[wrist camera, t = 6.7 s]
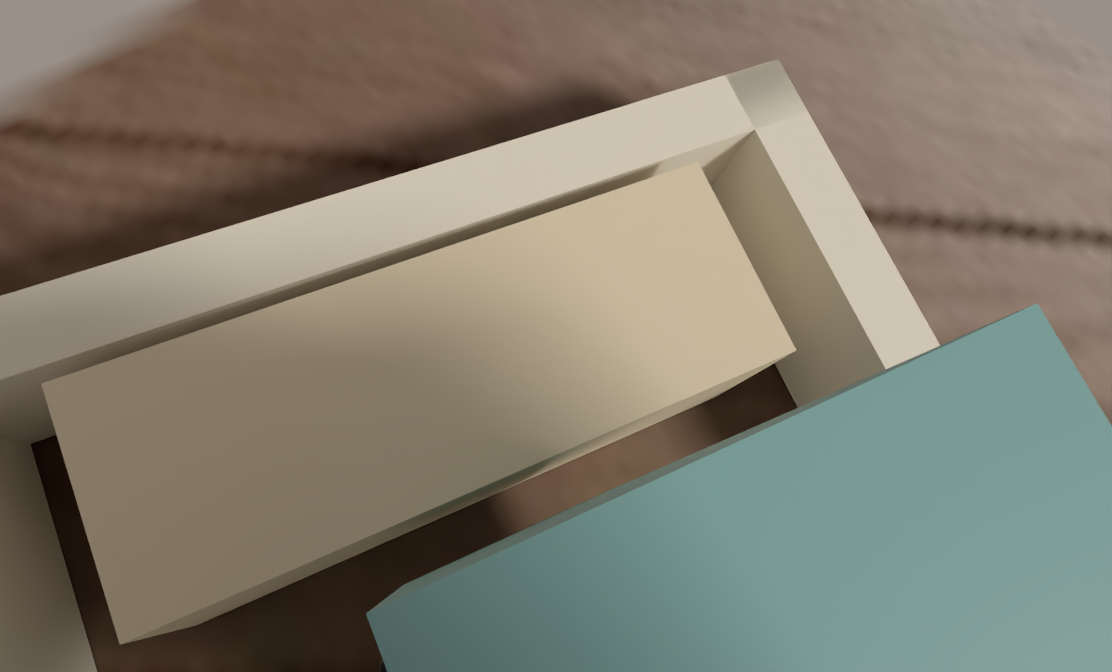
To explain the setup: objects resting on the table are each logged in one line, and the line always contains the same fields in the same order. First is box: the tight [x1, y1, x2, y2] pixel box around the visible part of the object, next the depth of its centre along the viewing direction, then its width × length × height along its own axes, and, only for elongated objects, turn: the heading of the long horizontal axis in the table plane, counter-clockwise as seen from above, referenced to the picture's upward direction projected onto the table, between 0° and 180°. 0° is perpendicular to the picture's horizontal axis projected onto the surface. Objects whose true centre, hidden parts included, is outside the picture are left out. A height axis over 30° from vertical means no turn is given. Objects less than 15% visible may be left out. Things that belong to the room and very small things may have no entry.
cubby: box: [0, 59, 940, 672], centre depth 16 cm, size 12×20×4 cm, turn 114°
